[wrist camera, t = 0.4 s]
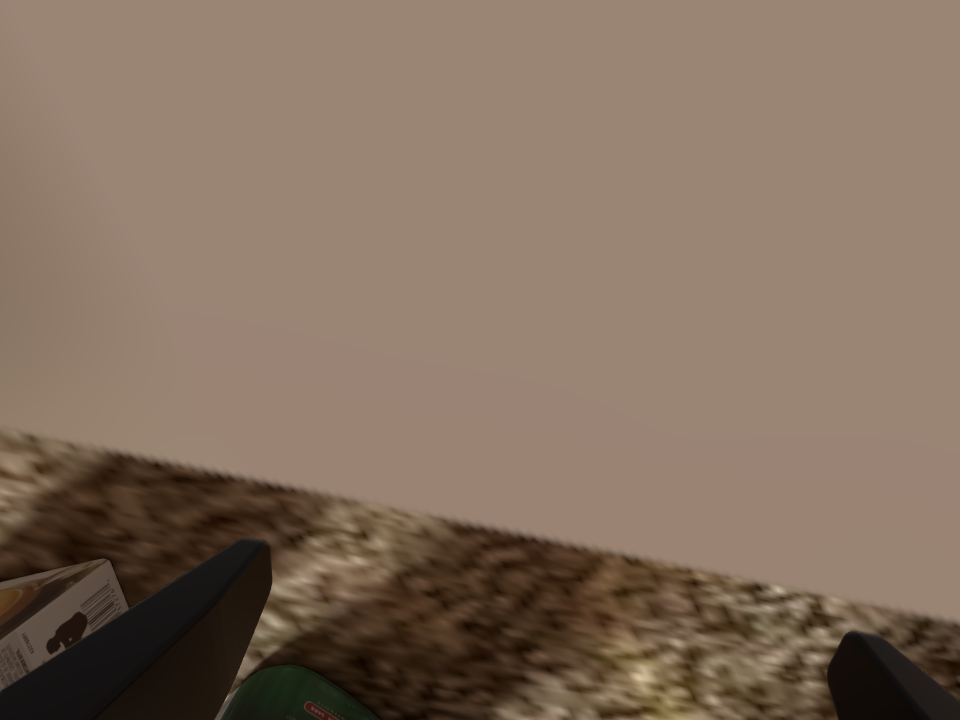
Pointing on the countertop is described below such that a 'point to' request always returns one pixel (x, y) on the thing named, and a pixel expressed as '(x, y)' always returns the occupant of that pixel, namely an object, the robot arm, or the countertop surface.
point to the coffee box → (54, 613)
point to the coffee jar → (291, 698)
